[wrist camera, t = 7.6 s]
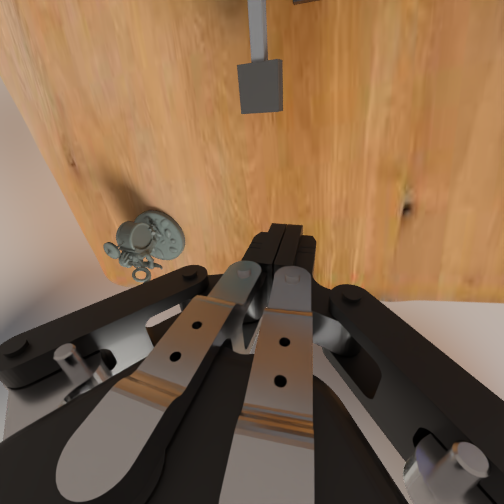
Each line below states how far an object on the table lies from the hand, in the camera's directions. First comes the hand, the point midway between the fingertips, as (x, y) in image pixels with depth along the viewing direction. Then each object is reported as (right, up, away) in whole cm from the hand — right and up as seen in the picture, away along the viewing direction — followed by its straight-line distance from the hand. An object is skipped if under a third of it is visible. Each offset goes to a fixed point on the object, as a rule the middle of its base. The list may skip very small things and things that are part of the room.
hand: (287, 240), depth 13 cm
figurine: (-20, +3, +37) cm, 42 cm away
